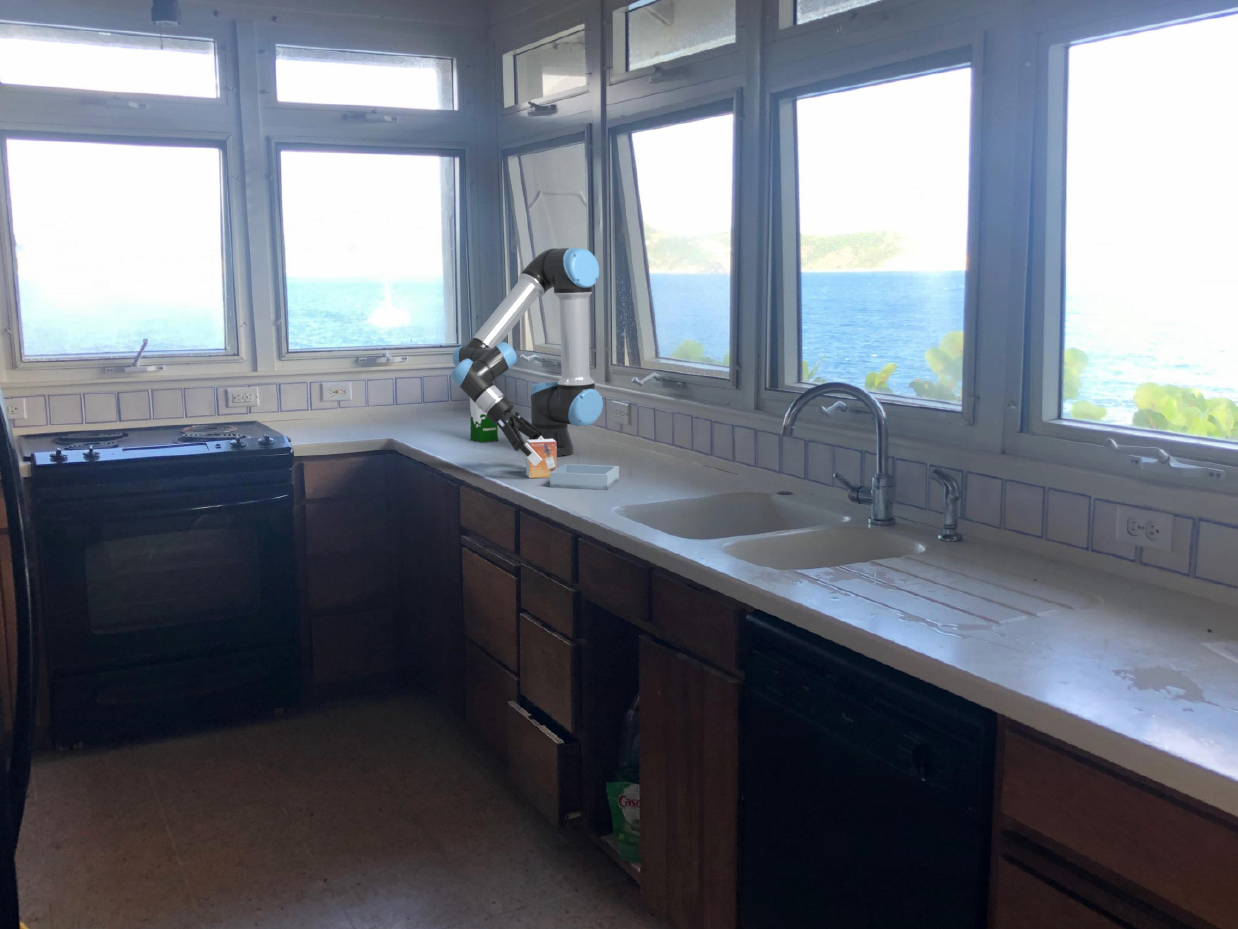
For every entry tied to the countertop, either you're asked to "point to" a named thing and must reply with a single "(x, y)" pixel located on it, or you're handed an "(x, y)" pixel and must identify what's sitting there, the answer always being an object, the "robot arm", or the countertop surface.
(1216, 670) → the countertop surface
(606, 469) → the tray
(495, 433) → the milk carton
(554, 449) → the small box
